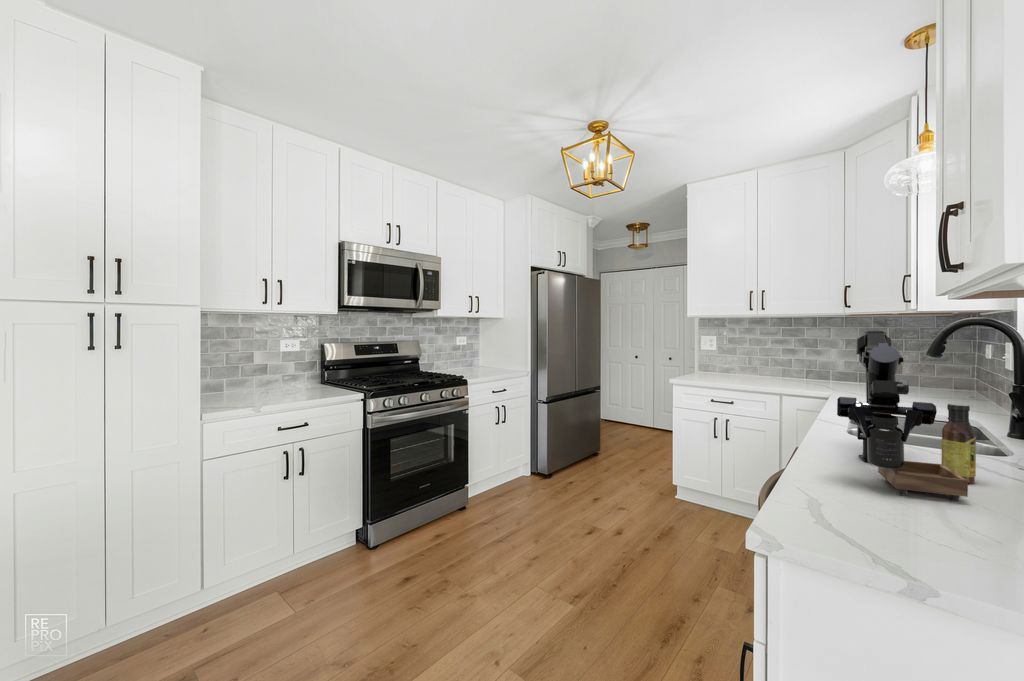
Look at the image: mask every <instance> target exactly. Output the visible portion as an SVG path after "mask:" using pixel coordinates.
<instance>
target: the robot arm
mask: <svg viewBox="0 0 1024 681" xmlns="http://www.w3.org/2000/svg"><path fill="white" fill-rule="evenodd" d="M855 350H856V355H858V359H859V360H858V361H859V362H860V363H861V365H862V366H863V368H864V369H865V399H866V400H865V401H866V403H864V402H862V401H857V397H852V396H851V397H849V396H839V397H838V398H837V402H836V403H837V407H836V408H837V409H836V410H837V411H836V415H837V416H838V417H841V418H848V420H850V421H853V423H855V424H856V426H857V429H856V436H857V440H859V441H860V440H862V454H858V457H859V458H860V459H861V461H863V462H866V463H869V462H868V454H867V438H868V427H869V426H871V425H873V423H872V415H875V414H885V415H892V416H905V418H904V425H903V433H904V443H906V442H907V441H908V439H909V436H910V434H911V432H912V431H913V429H914V428H915V427H919V426H921V425H928V426H929V425H930V426H931V425H933V424H934V423H935V419H936V415H937V413H938V412H937V410H938V409H937V405H936V404H934V403H933V402H924V401H912V406H911V407H907V406H899V404H900V402H901V401H900V400H901V399H900V395H909V393H910V389H909V388H910V387H909V380H906V379H904V380H903V379H898V380H897V378H896V374H897V372H898V367H899V366H900V365H901V363H904V357H902V356H901V354H900V352H899V351H898V350H897V349H896V348H895V347H894V346H892V338H890V337H888V336H887V331H884V330H867V331H864V334H863V335H861V336H860V337H858V338H857V339H856V349H855ZM896 380H897V381H896Z"/></svg>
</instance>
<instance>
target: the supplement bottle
mask: <svg viewBox="0 0 1024 681" xmlns="http://www.w3.org/2000/svg"><path fill="white" fill-rule="evenodd" d="M872 423H873V425H871V426H869V427H868V438H867V454H868V462H867V463H869V464H870V465H872V466H875V467H877V468H878V467H883V468H902V467H903V466H904V461H905V442H904V430H902V428H900V427H898V426H899V418H898V416H897V415H893V414H891V415H885V414H875V415H872Z"/></svg>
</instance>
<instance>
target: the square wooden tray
mask: <svg viewBox="0 0 1024 681" xmlns="http://www.w3.org/2000/svg"><path fill="white" fill-rule="evenodd" d="M877 472H878V474H880V476H882V477H883V478H884V480H885V482H886V483H889V484H890V485H892V486H893V487H894V488H895V489H896V490H897V492H898V494H899V495H901V496H907V495H908V491H914V492H923V493H931V494H938V495H947V497H948V499H949V500H950V501H952V502H959V501H960V497H965V498H968V495H969V493H968V492H969V491H968V490H969V486H968V485H969V483H968V480H966V479H964V478H963V477H961V476H960V475H958V474H956V473H955V472H953V471H952V470H950V469H948V468H947V467H945V466H944V465H942V463H932V462H921V461H920V462H919V461H909V460H904V466H903V467H902V468H883V467H878V466H877Z"/></svg>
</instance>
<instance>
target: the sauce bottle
mask: <svg viewBox="0 0 1024 681" xmlns="http://www.w3.org/2000/svg"><path fill="white" fill-rule="evenodd" d="M970 407H971V406H970V405H969V404H964V403H955V402H954V403H953V402H951V403H947V410H948V412H947V413H948V417H947V420H948V421H947V422H946V423H945V425H944V426H943V427H942V429H941V434H942V435H941V464H942V465H944V466H945V467H947V468H948V469H950V470H952V471H953V472H955V473H956V474H958V475H960V476H961V477H963V478H964V479H966V480H968V484H973V483H975V482H976V478H975V477H976V474H977V473H976V470H977V468H976V466H977V464H976V462H977V440H976V439H977V435H976V434H975V431H974V429H973V427H972V425H971V423H970V419H969V416H970V410H971V408H970Z"/></svg>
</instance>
